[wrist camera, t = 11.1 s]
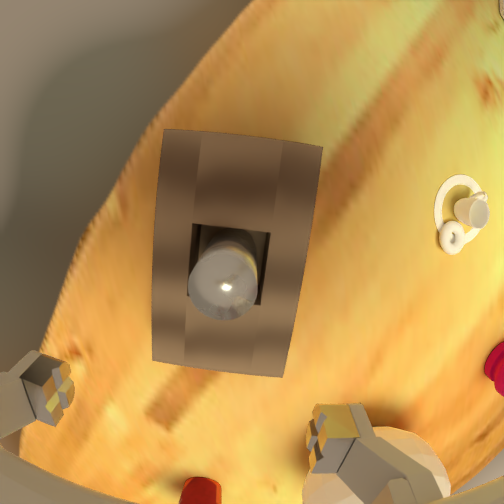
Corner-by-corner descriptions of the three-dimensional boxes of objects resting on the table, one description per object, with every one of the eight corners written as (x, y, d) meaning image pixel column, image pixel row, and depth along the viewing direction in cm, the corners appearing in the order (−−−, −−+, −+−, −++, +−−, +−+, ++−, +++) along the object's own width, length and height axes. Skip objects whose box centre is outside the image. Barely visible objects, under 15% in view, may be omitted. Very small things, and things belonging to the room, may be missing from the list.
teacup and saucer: (443, 261, 31) (462, 272, 27) (415, 202, 30) (434, 207, 26) (490, 219, 30) (511, 225, 26) (466, 161, 28) (488, 162, 24)
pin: (211, 224, 29) (190, 250, 19) (259, 230, 29) (262, 259, 19) (206, 270, 30) (186, 315, 20) (253, 275, 30) (252, 324, 20)
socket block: (181, 137, 28) (164, 129, 22) (309, 151, 28) (322, 146, 22) (167, 330, 33) (152, 360, 27) (278, 344, 33) (282, 377, 27)
